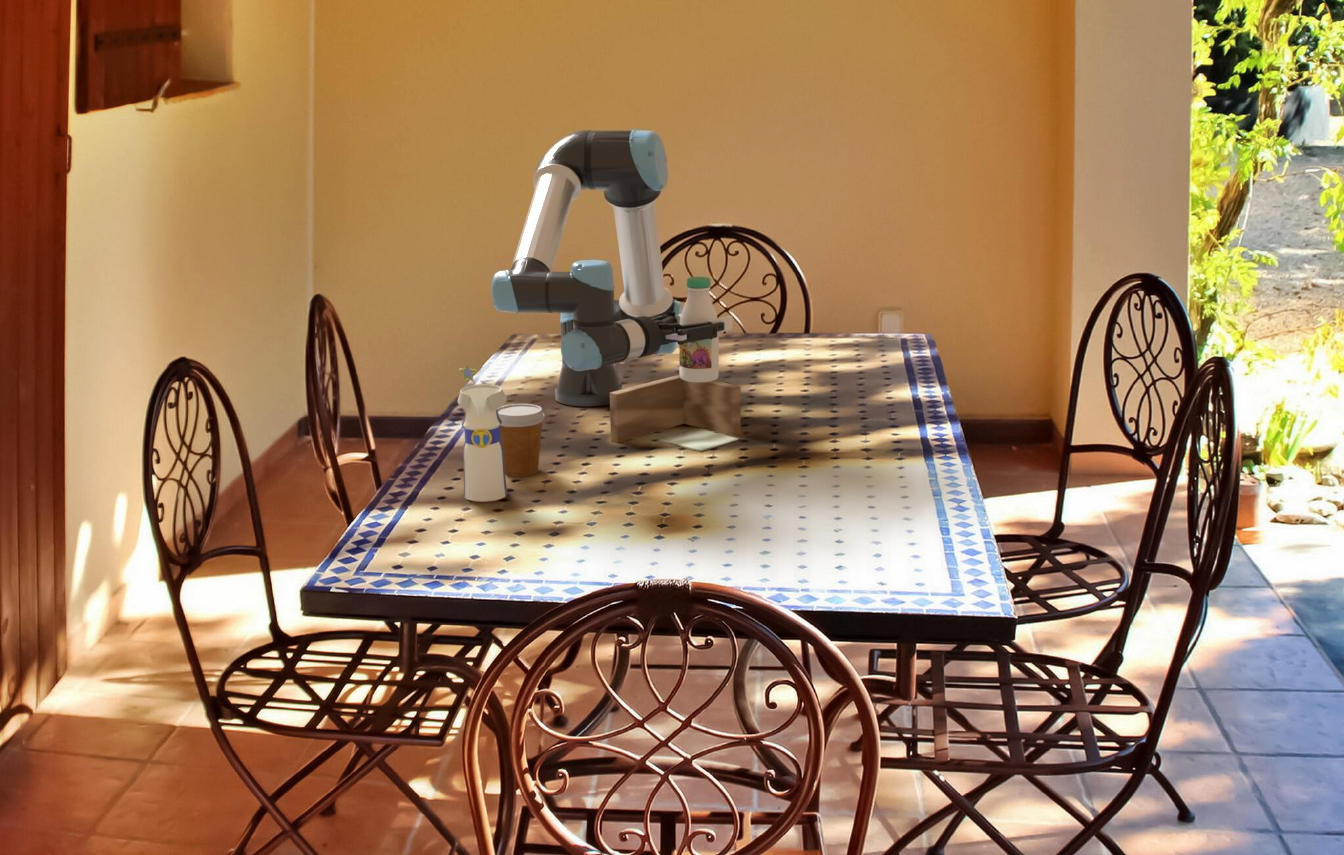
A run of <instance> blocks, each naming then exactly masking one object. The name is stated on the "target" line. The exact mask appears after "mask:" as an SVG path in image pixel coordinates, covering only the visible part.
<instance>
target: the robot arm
mask: <svg viewBox="0 0 1344 855" xmlns="http://www.w3.org/2000/svg"><path fill="white" fill-rule="evenodd" d="M668 178H669V168H668V158H667V153H666V148H665V145H664V142H663V140H662V138H661V136H660V135H659V134H658V133H657V132H655V131H653V130H641V129H638V128H637V129H636V128H635V129H632V130H619V129H618V130H614V129H613V130H612V129H611V130H607V129H606V130H604V129H603V130H602V129H600V130H597V129H596V130H591V129H584V130H577V131H574V132H572V133H570V134H568V135H565V136H564V137H562V138H561V139H558V140H557V141H556V142H555V143H554V144H553V145H552V146H551V147H549V149H548V150H547V151H546V152H545V154H544V155H543V156H542V157H541V158H540V160H539V162H538V163H537V165H536V168H535V171H534V174H533V177H532V186H533V188H534V192H533V195H532V198H531V202H530V205H529V208H528V211H527V214H526V217H525V220H524V225H523V227H522V230H521V235H520V237H519V241H518V244H517V247H516V250H515V253H514V257H513V261H512V264H511V267H510V270H508V269H505V270H499V271H497V272H495V273H494V275H493V277H492V280H491V289H490V290H491V300H492V303H493V304H492V305H493V306H494V308H495V309H496V311H498V312H502V313H515V314H560V319H559V323H560V337H561V338H560V340H561V341H560V354H561V361H562V364H561V365H562V366H561V369H560V373H559V378H558V382H557V385H556V386H555V389H554V390H555V393H554V394H555V395H554V396H555V400H556V401H557V402H558V403H560V404H563V405H568V406H574V407H598V406H599V407H600V406H605V405H606V406H607V405H610V392H614V391H618V390H622V389H624V385H623V384H622V382H621V378H620V375H619V372H618V369H617V366H616V364H618V363H619V364H620V365H625V364H626V361H630V360H632V361H633V360H635V359H641V358H645V357H648V356H649V357H650V356H652V355H655V356H658V355H670V354H673V353H674V352H676V350H677V348H678V345H682V344H686V343H689V342H694V341H699V340H705V339H713V338H716V337H717V333H719V334H720V333H724V332H728V331H732V330H733V315H726V316H722V317H721V316H720V317H718V318H717V319H712V320H708V321H707V322H706V323H697V324H687V325H680V316H681V313H682V310H683V305H682V302H681V301H678V300H677V299H676V300H674V297H673V294H672V292H671V291H670V289H669V288H668V287H666V286H665V281H664V280H665V279H664V271H663V263H662V262H663V261H662V253H661V244H660V235H659V227H658V226H659V225H658V216H657V207H656V201H657V200H658V199H659V198H660V196H661V193H662V190H663V191H664V190H665V188H666V187H667V185H668ZM583 190H594V191H595V190H596V191H597V190H598V191H599V190H601V191H603V196H604V199H605V201H606V202H607V204H609V205H610V206H612V208H613V213H614V222H615V229H616V230H615V231H616V236H617V243H618V251H619V259H620V266H621V267H620V268H621V273H622V282H623V289H624V291H623V292H622V294H621V295H620V296H619V299H615V288H616V287H615V283H614V272H613V266H612V264H611V263H610V262H609V261H606V260H601V259H587V260H585V259H584V260H583V259H582V260H578V261H575V262H573V263H572V265H571V269H570V271H553V270H554V266H555V264H556V259H557V256H558V253H559V249H560V245H561V242H562V239H563V235H564V231H565V228H566V225H567V221H568V218H569V214H570V210H571V207H572V203H573V201H575V200H576V199H578V197H579V196H580V193H581V191H583Z"/></svg>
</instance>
